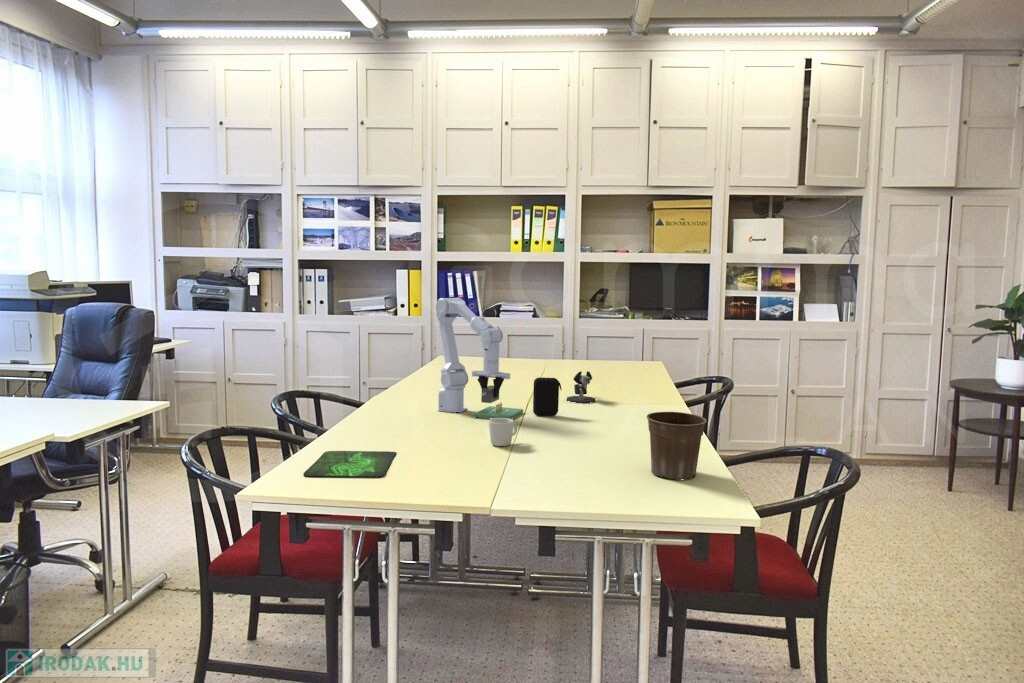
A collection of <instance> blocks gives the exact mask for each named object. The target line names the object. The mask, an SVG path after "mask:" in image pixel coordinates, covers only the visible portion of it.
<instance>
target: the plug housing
mask: <svg viewBox="0 0 1024 683" xmlns="http://www.w3.org/2000/svg"><path fill="white" fill-rule="evenodd" d="M480 400H481V403H484V404H486V403H487V404H492V403H495V402H496V401H498V400H500V392H499V393H498V397H497V398H494V385H488V386H487V387H485V388H483V389H482V388H481V399H480Z"/></svg>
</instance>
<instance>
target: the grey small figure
mask: <svg viewBox="0 0 1024 683" xmlns="http://www.w3.org/2000/svg"><path fill="white" fill-rule="evenodd" d="M582 373H583V372H582V371H578V373H576V374H575V376H574V377H573V381H574V382H575V384H574V389H573V390H574V394H575V395H571V396H570V395H569V396H567V397H566V402H568V401H570V402H569V403H571V402H576V403H575V404H580V403H582V404H591V403H590V402H594V403H596V397H592V396H588V395H587V394H588V391H587V389H588V385H589V384H590V383H591V381H592V379H593V376H592V374H591V372H590V371H589V370H587V371H586V373H585V374H582ZM586 395H587V396H586Z"/></svg>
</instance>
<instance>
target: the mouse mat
mask: <svg viewBox="0 0 1024 683" xmlns="http://www.w3.org/2000/svg"><path fill="white" fill-rule="evenodd" d="M396 455H397V452H395V451H389V450H388V451H387V450H386V451H378V450H377V451H376V450H375V451H373V450H372V451H371V450H370V451H367V450H365V451H364V450H328V451H327V450H326V451H325V452H322V454H321V455H320V457H319V458H318V459H317V460H316V461H315V462H314V463H312V465H310V466H309V468H307V469H306V470H305V471H304V472H303V476H304V477H306V478H359V479H360V478H364V479H365V478H368V479H369V478H382V477H384V476H385V475H386V473H387V472H388V470H389V469H390V466H391V464H392V463H393V461H394V459H395V458H396Z"/></svg>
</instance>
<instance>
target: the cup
mask: <svg viewBox="0 0 1024 683" xmlns="http://www.w3.org/2000/svg"><path fill="white" fill-rule="evenodd" d="M488 427H489V438H490V444H491V445H492V446H494V445H495V446H494V447H499V446H504V447H508V446H511V443H512V440H513V436H515V435H517V431H518V424H517V422H515V420H514V419H508V418H493V419H488Z"/></svg>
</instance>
